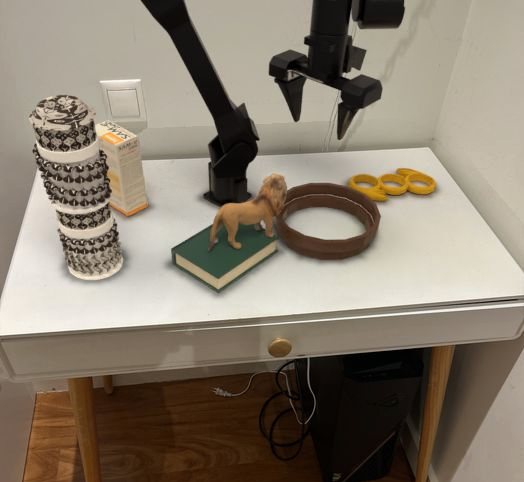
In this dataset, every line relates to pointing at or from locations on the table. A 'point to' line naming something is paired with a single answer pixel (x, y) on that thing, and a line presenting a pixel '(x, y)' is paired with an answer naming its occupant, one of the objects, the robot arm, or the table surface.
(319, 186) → the ring
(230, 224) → the lion figurine
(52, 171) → the decorative candle
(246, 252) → the book
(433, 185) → the novelty glasses
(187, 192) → the table surface
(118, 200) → the supplement box
